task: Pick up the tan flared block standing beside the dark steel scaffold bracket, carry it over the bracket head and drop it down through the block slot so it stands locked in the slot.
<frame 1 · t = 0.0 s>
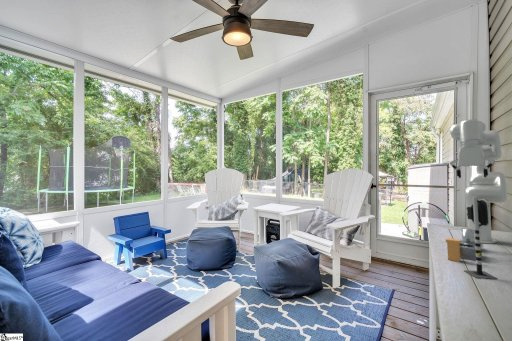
hand: (472, 177, 123), 37 cm above the table, tool pointing down, fingers open, 9 cm apart
miniature traffic light: (480, 275, 93), on the table
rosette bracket: (465, 255, 114), on the table
tan flared block: (454, 260, 109), on the table
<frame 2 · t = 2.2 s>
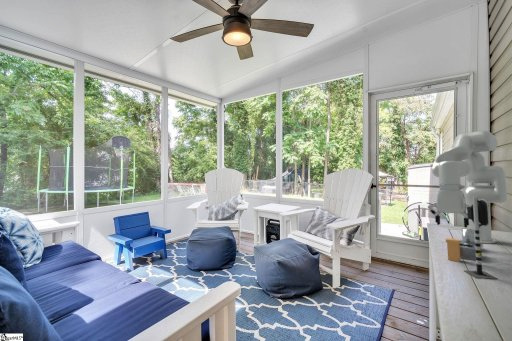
hand: (451, 225, 109), 15 cm above the table, tool pointing down, fingers open, 9 cm apart
nothing on the table moved.
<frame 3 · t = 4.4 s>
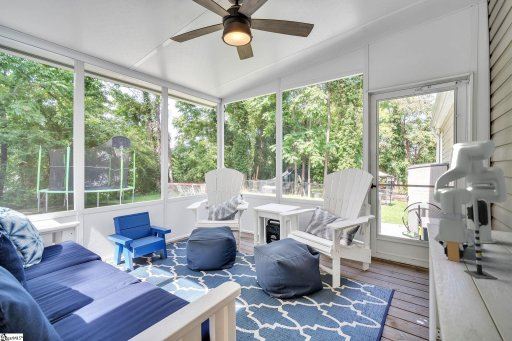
hand: (454, 256, 109), 1 cm above the table, tool pointing down, fingers closed on tan flared block, 4 cm apart
tan flared block: (454, 259, 109), on the table, touching gripper
everything else where it was.
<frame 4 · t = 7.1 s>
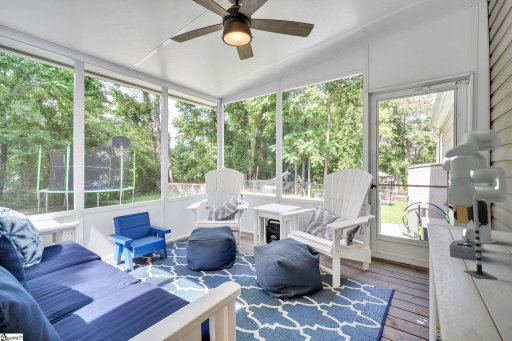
hand: (463, 219, 115), 17 cm above the table, tool pointing down, fingers closed on tan flared block, 4 cm apart
tan flared block: (463, 222, 114), point 16 cm above the table, touching gripper
everything else where it was.
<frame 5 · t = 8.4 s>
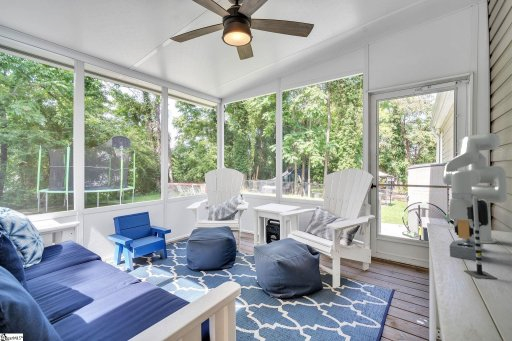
hand: (464, 234, 114), 10 cm above the table, tool pointing down, fingers closed on tan flared block, 4 cm apart
tan flared block: (464, 237, 114), point 9 cm above the table, touching gripper
everything else where it was.
when the fingers open (7 cm above the table, at t = 9.6 s): tan flared block drops 6 cm, resting in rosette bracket.
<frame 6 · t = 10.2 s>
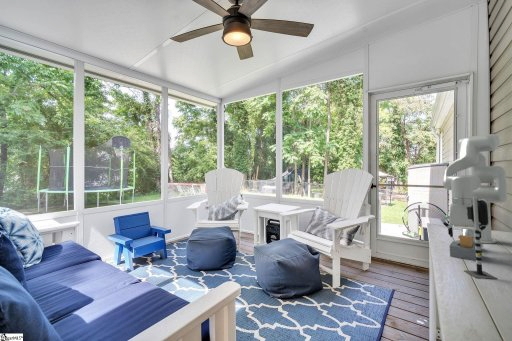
hand: (464, 238, 114), 8 cm above the table, tool pointing down, fingers open, 9 cm apart
tan flared block: (466, 255, 114), resting in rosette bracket
everything else where it was.
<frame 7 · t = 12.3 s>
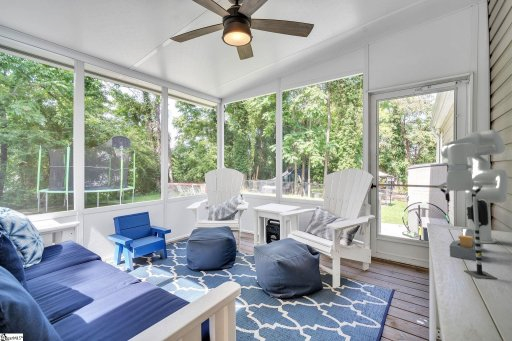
hand: (460, 201, 121), 25 cm above the table, tool pointing down, fingers open, 9 cm apart
nothing on the table moved.
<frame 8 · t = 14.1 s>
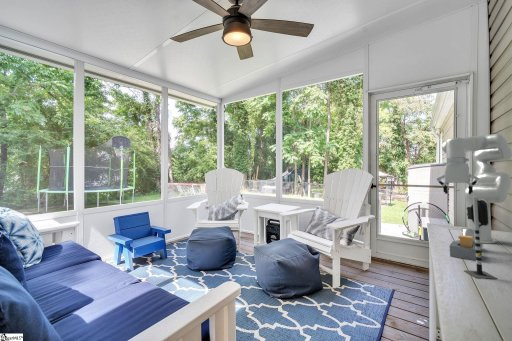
hand: (457, 193, 127), 28 cm above the table, tool pointing down, fingers open, 9 cm apart
nothing on the table moved.
at the end: tan flared block 0.6 cm off-centre on the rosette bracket, point 0.0 cm above the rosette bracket's base; tan flared block tilted 0°; the gripper is holding nothing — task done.
